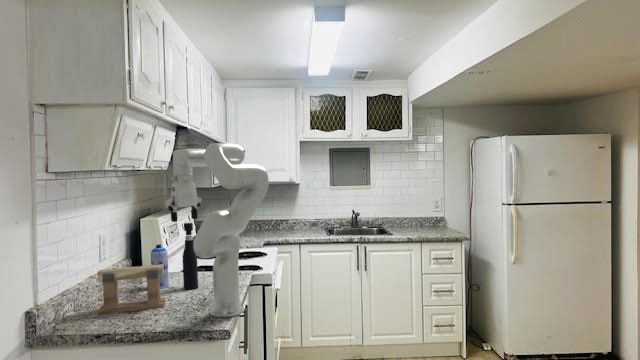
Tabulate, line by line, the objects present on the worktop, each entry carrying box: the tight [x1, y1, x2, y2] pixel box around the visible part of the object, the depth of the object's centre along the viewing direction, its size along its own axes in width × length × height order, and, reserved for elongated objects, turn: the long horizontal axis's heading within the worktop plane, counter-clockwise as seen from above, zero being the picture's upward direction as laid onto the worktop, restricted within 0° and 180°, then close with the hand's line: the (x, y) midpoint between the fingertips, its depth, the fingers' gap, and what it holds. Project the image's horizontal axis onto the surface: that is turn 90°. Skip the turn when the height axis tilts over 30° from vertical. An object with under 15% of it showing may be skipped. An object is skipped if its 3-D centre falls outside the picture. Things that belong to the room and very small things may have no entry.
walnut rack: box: [97, 270, 166, 315], centre depth 180 cm, size 8×24×15 cm, turn 105°
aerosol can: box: [150, 243, 170, 290], centre depth 211 cm, size 8×8×20 cm
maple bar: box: [97, 264, 164, 283], centre depth 180 cm, size 4×24×4 cm, turn 105°
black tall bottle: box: [182, 222, 199, 291], centre depth 207 cm, size 6×6×30 cm
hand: (184, 220), depth 187 cm, fingers open, 9 cm apart
